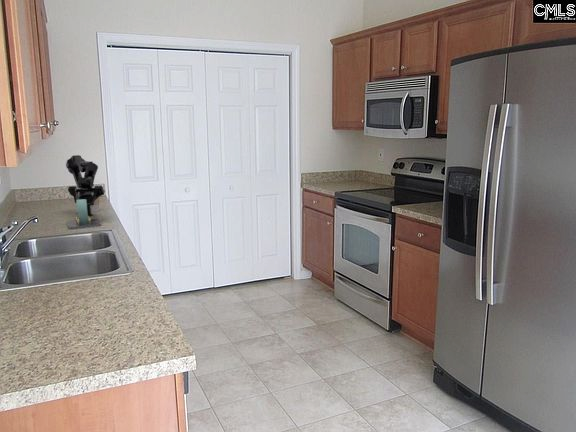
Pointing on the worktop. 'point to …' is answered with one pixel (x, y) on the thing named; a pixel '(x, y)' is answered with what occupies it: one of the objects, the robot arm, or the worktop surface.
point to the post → (82, 211)
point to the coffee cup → (95, 204)
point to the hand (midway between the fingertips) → (83, 202)
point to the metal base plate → (77, 224)
